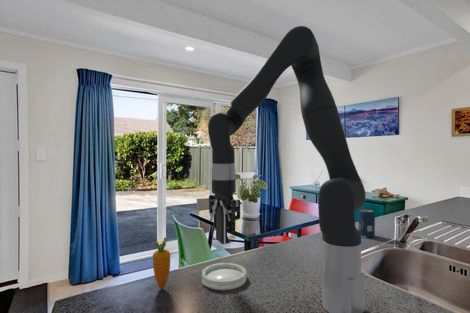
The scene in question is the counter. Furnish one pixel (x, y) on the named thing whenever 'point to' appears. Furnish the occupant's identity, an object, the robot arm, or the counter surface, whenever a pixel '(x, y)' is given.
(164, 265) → the carrot
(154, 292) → the counter surface
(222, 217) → the battery charger
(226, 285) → the dish
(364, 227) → the soda can
